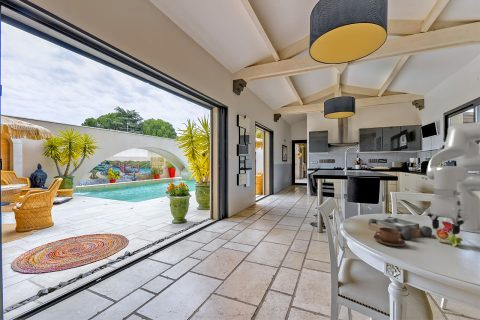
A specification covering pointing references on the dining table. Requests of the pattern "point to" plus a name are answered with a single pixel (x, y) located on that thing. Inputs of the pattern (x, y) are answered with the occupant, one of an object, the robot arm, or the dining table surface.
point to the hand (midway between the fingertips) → (445, 230)
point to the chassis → (401, 227)
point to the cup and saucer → (389, 237)
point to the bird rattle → (444, 235)
